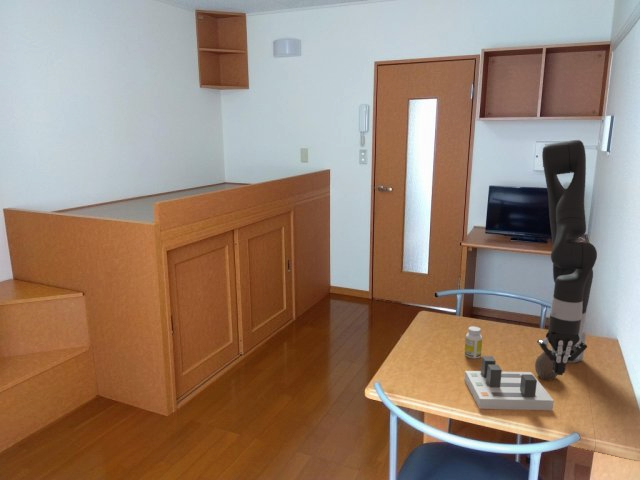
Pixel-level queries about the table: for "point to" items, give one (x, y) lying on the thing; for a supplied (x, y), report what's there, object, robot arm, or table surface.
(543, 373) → the vase
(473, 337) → the supplement bottle
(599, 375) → the table surface
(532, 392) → the block
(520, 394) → the breaker panel
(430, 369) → the table surface
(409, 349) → the table surface
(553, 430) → the table surface
